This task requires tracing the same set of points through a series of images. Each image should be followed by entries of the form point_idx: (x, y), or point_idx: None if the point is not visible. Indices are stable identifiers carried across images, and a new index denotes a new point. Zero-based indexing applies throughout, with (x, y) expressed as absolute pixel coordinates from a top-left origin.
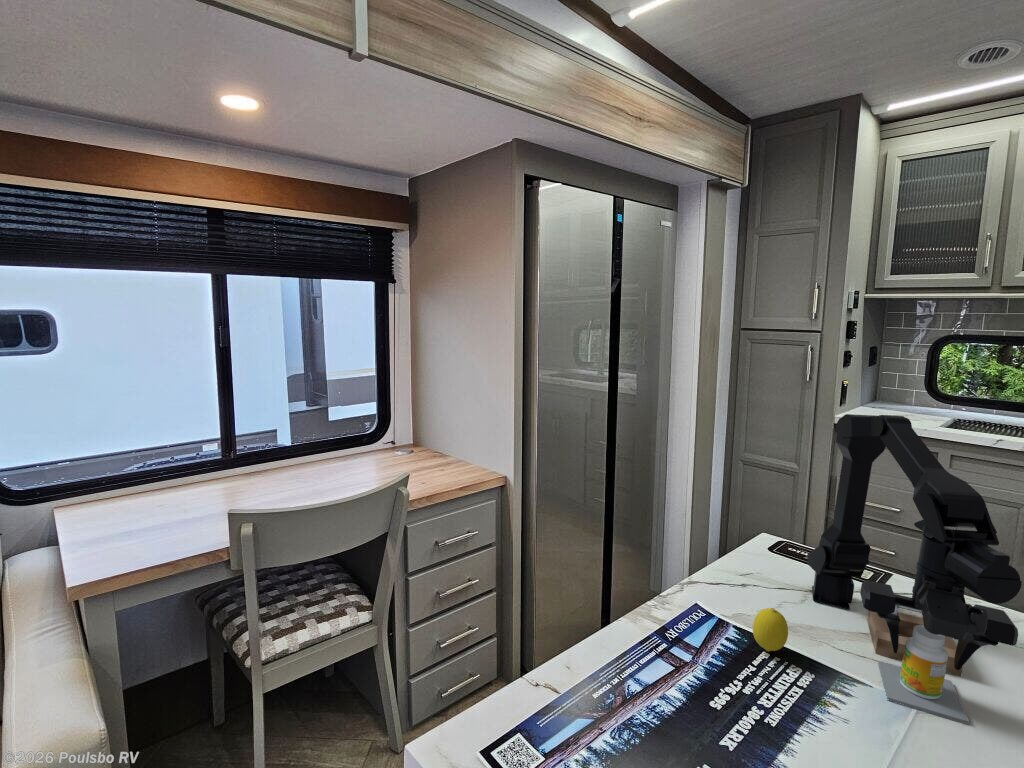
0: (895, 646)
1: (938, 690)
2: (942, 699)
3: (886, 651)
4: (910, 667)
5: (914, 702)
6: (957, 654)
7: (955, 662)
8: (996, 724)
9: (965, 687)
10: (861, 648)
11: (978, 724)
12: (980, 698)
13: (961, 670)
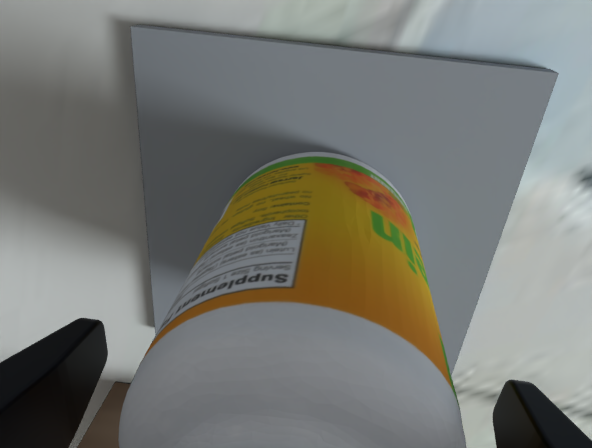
0: (566, 435)
1: (245, 190)
2: (226, 184)
3: None
4: (419, 277)
5: (395, 89)
6: (37, 446)
7: (85, 376)
8: (12, 98)
9: (108, 324)
10: (476, 444)
11: (90, 55)
12: (61, 273)
13: (102, 405)
